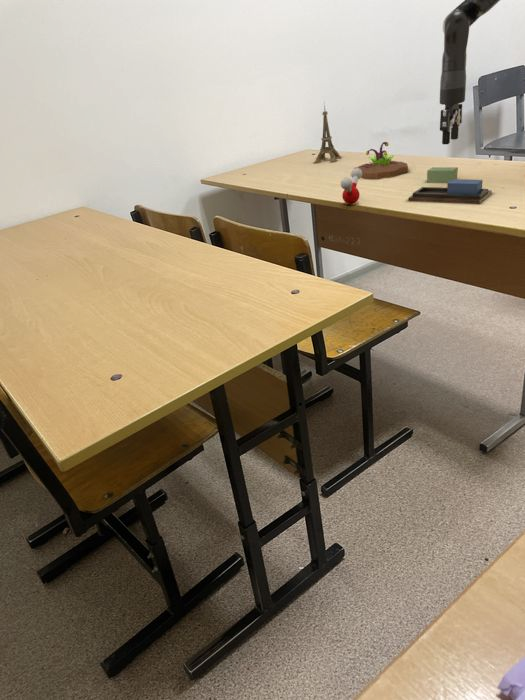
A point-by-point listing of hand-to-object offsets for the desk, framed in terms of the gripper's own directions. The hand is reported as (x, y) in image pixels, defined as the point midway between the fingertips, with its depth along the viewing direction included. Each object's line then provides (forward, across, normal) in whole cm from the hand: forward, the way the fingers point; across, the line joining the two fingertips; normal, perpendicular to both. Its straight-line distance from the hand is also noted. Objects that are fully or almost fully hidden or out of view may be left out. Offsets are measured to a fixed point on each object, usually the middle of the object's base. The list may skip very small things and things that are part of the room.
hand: (450, 141), depth 172 cm
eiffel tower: (+15, +43, +70) cm, 83 cm away
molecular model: (+14, -25, +23) cm, 37 cm away
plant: (+14, +19, +32) cm, 40 cm away
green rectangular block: (+14, +8, +5) cm, 17 cm away
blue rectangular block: (+13, -14, -9) cm, 21 cm away
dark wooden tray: (+14, -14, -5) cm, 20 cm away
